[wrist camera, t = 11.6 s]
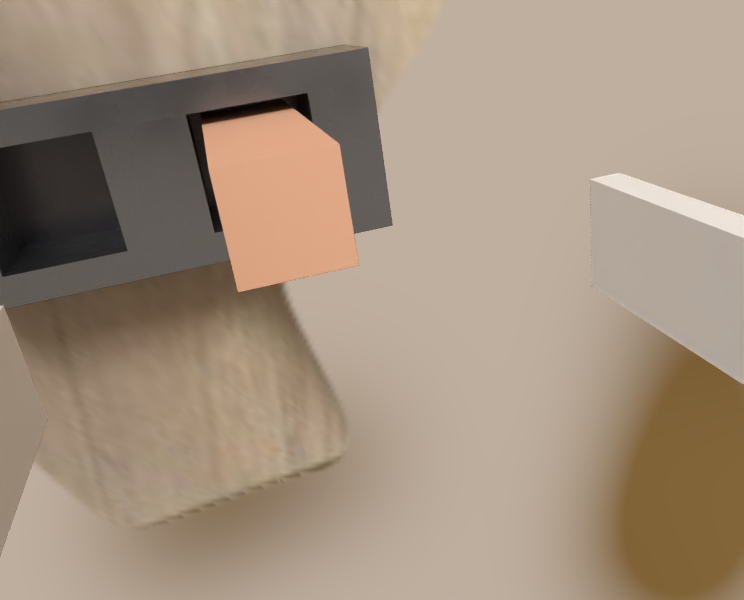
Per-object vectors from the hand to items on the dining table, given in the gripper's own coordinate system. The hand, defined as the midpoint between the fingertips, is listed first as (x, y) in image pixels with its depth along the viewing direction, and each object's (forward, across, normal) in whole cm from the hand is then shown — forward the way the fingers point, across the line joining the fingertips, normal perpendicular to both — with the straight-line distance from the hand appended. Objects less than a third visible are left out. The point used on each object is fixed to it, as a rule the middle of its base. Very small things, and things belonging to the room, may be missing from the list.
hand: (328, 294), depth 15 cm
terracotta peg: (+21, 0, 0) cm, 21 cm away
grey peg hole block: (+21, -4, 0) cm, 22 cm away
